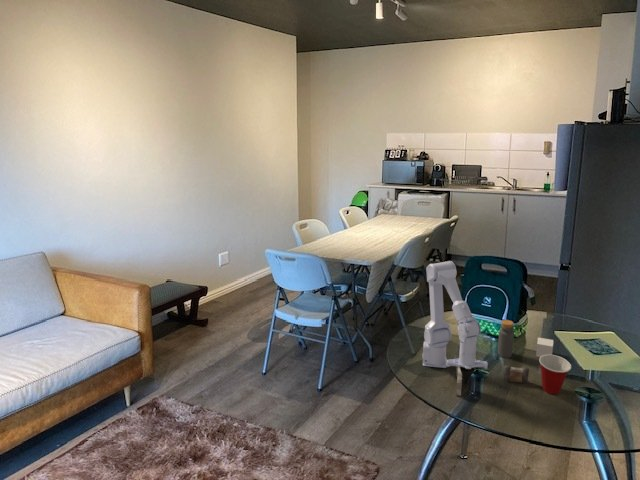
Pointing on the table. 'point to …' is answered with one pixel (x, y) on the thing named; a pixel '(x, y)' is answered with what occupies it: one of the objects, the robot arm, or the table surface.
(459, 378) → the gate
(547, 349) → the white cube
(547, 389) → the plastic cup
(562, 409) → the table surface
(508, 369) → the fence
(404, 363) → the table surface
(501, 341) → the bottle
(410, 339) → the table surface
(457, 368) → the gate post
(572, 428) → the table surface
